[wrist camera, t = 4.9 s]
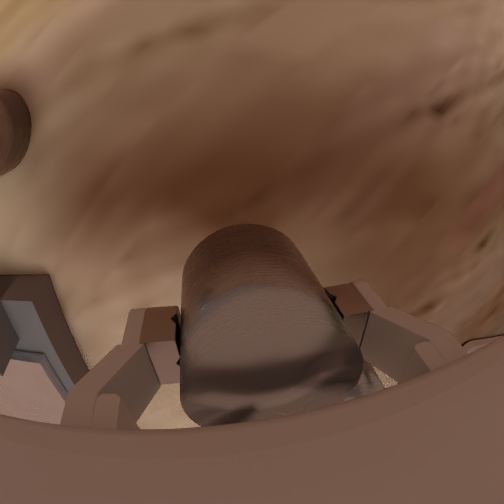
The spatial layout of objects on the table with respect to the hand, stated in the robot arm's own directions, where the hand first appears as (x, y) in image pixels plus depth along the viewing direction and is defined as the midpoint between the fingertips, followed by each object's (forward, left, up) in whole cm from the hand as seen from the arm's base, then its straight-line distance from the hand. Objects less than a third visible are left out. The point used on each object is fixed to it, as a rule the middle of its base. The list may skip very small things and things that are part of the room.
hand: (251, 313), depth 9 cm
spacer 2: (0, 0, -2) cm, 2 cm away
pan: (+18, +12, -4) cm, 22 cm away
